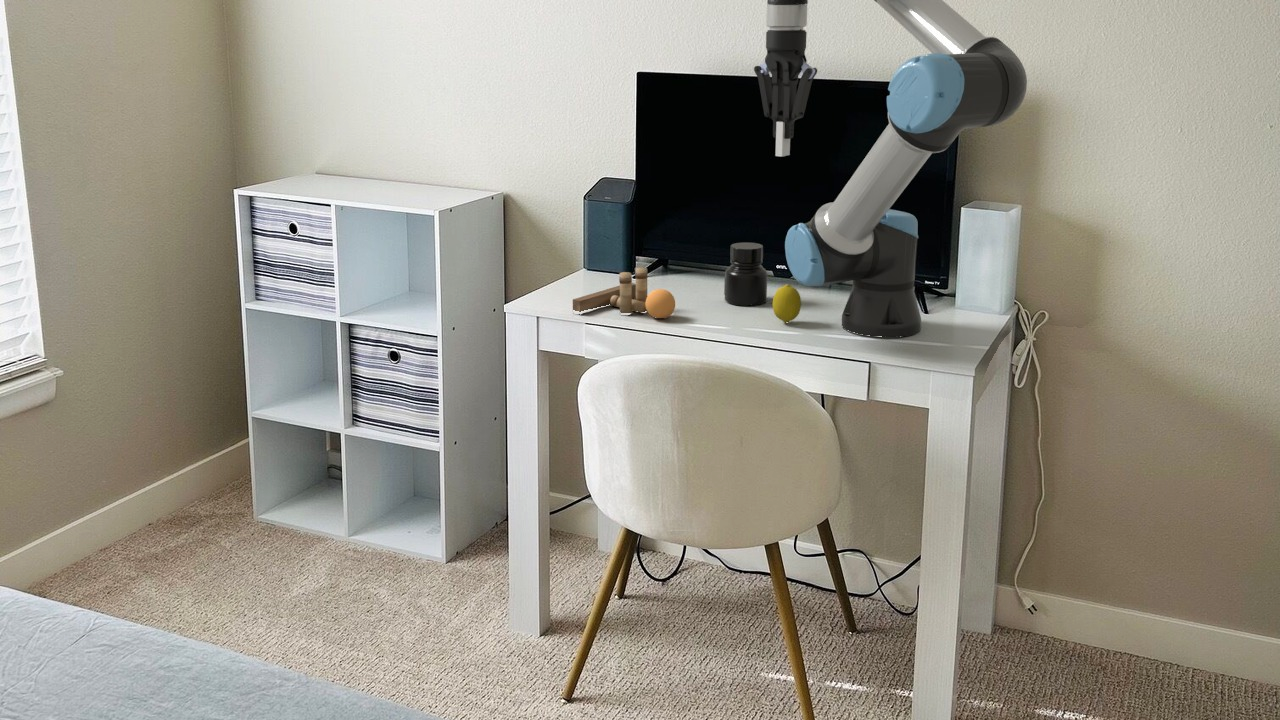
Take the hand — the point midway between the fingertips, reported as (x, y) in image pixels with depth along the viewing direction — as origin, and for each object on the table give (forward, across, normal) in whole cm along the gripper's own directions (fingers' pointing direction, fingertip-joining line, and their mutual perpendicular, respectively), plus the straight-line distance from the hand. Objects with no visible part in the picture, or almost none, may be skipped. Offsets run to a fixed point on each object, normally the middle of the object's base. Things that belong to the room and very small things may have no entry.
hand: (782, 155), depth 225 cm
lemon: (+33, -4, +3) cm, 33 cm away
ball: (+29, +18, +16) cm, 38 cm away
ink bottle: (+33, +12, -6) cm, 35 cm away
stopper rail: (+32, +33, +15) cm, 49 cm away
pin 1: (+32, +25, +18) cm, 45 cm away
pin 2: (+32, +25, +12) cm, 43 cm away
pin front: (+31, +22, +15) cm, 41 cm away
